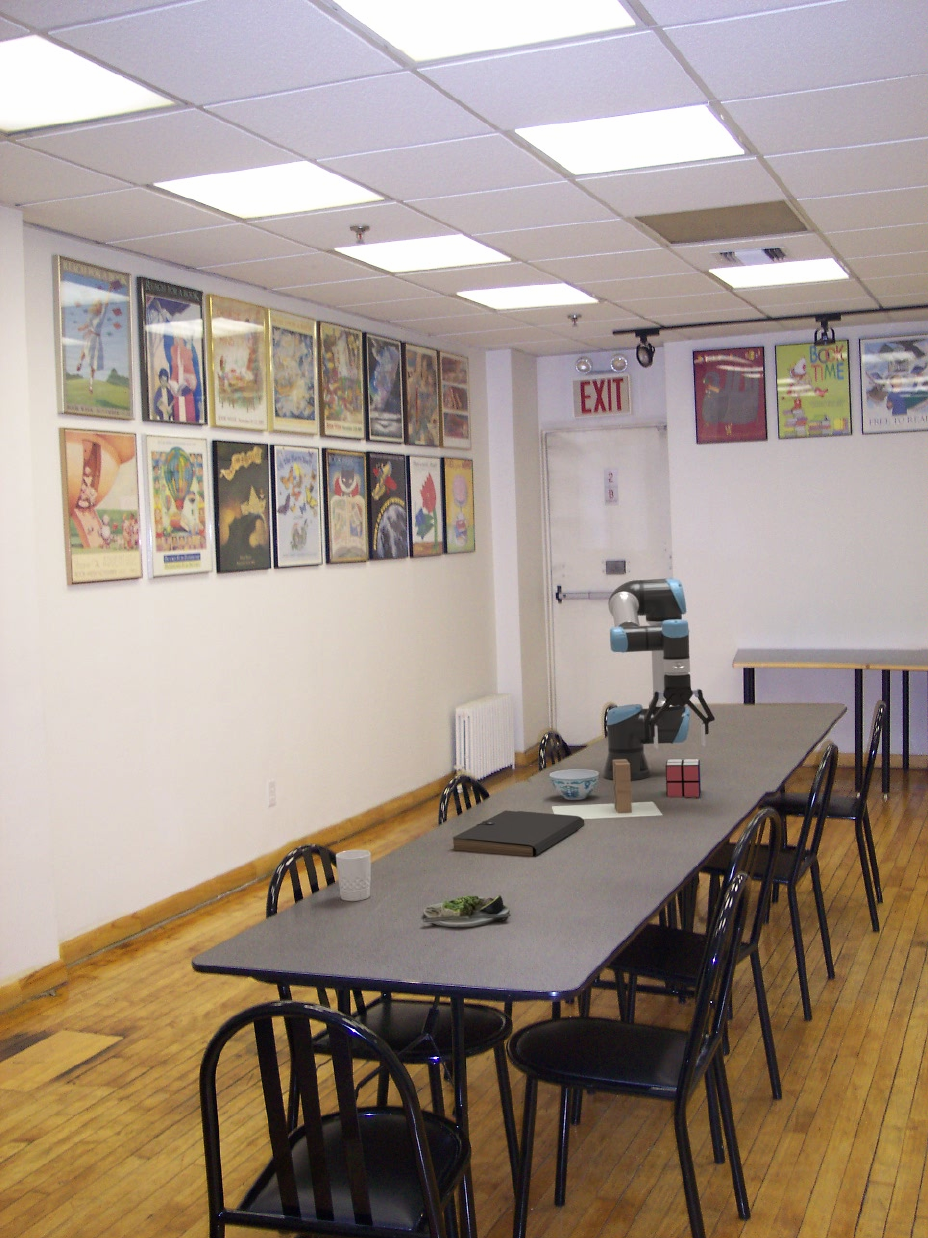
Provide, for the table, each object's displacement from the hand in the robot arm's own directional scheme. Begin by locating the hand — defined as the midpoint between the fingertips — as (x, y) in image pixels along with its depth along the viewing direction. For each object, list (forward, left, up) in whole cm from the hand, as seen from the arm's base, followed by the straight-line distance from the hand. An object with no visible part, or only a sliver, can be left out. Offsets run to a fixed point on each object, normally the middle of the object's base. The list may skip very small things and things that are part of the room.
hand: (679, 747), depth 353 cm
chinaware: (-20, -29, -18) cm, 40 cm away
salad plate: (+92, -62, -19) cm, 112 cm away
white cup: (+74, -88, -18) cm, 116 cm away
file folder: (+26, -48, -19) cm, 58 cm away
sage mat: (0, -22, -18) cm, 28 cm away
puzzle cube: (-19, +4, -18) cm, 27 cm away
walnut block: (0, -17, -18) cm, 24 cm away
